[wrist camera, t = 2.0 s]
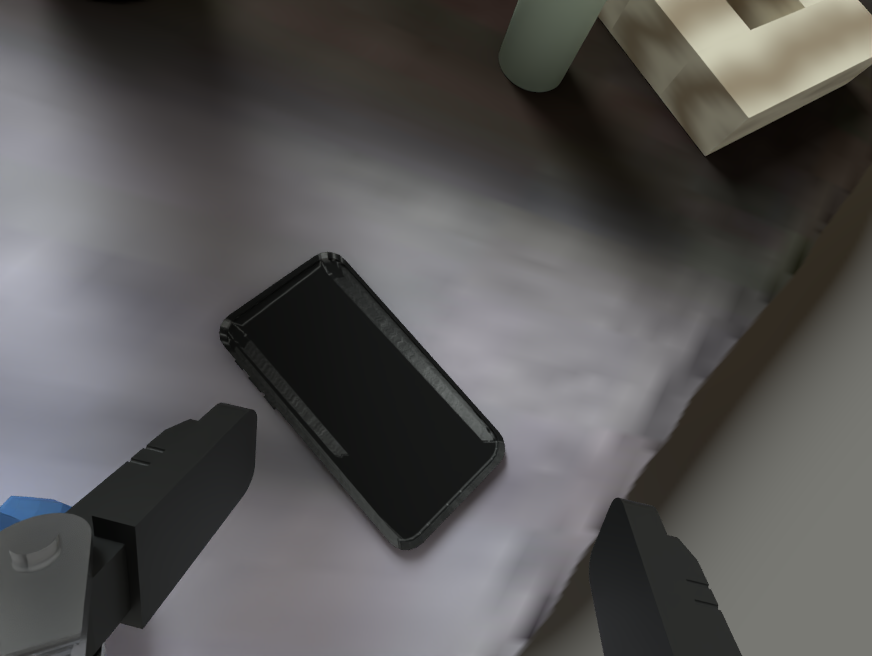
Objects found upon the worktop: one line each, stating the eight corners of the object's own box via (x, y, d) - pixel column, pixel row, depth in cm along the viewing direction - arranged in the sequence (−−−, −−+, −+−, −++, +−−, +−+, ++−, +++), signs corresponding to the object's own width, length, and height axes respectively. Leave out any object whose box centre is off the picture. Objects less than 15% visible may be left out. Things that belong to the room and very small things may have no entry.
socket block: (568, -22, 38) (593, -77, 34) (717, -67, 43) (753, -118, 40) (705, 156, 35) (748, 118, 31) (845, 84, 40) (897, 44, 37)
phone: (331, 244, 27) (514, 448, 25) (331, 253, 28) (507, 449, 26) (207, 329, 24) (403, 563, 23) (213, 336, 25) (400, 559, 24)
